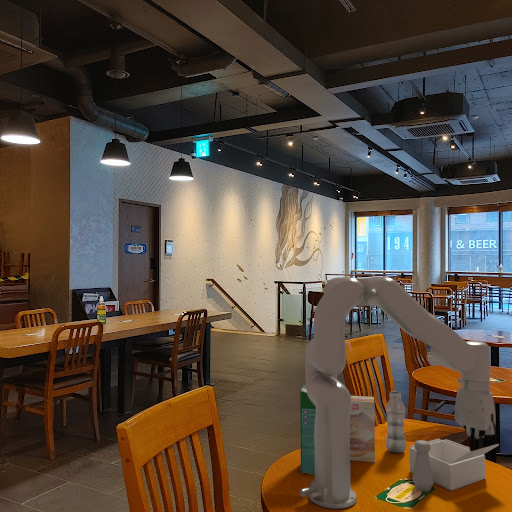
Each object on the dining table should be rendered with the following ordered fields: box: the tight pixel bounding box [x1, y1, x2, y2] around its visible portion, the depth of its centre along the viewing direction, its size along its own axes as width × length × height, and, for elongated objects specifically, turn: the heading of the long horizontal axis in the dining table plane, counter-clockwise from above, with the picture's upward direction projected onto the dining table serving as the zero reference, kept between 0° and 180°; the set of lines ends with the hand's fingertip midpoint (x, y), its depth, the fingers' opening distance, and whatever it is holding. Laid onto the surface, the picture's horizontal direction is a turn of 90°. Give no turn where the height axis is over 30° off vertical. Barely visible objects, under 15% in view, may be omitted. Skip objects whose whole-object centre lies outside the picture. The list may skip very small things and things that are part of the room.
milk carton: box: [299, 384, 316, 475], centre depth 148 cm, size 9×9×25 cm
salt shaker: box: [412, 439, 435, 492], centre depth 134 cm, size 6×6×13 cm
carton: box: [409, 438, 486, 492], centre depth 142 cm, size 16×16×7 cm
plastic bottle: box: [385, 390, 407, 454], centre depth 162 cm, size 6×7×20 cm
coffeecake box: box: [350, 395, 376, 463], centre depth 157 cm, size 15×7×20 cm, turn 77°
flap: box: [453, 443, 500, 463], centre depth 134 cm, size 13×6×1 cm
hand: (475, 451), depth 134 cm, fingers closed
